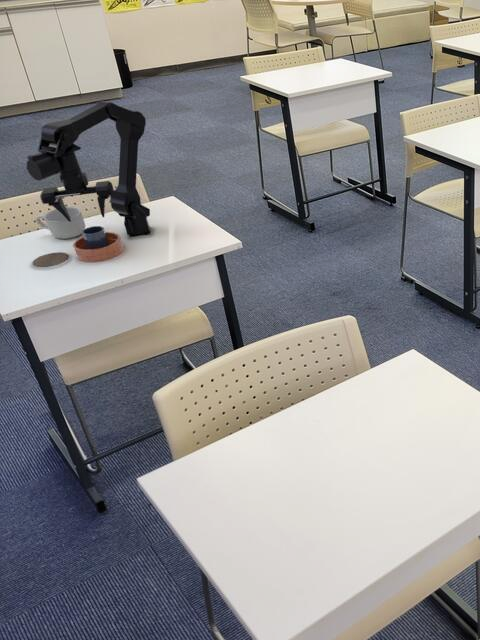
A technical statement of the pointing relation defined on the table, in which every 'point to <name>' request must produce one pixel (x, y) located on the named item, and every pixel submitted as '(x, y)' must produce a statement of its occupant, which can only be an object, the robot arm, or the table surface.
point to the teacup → (63, 223)
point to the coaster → (50, 259)
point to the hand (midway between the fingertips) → (87, 219)
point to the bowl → (101, 253)
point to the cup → (95, 237)
